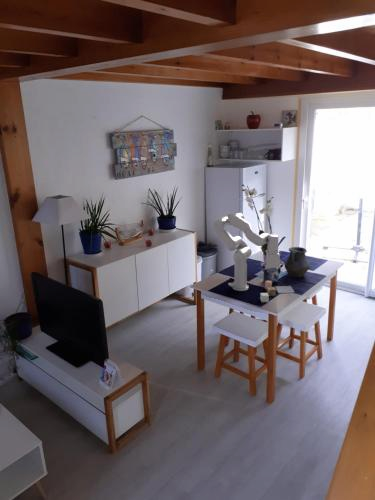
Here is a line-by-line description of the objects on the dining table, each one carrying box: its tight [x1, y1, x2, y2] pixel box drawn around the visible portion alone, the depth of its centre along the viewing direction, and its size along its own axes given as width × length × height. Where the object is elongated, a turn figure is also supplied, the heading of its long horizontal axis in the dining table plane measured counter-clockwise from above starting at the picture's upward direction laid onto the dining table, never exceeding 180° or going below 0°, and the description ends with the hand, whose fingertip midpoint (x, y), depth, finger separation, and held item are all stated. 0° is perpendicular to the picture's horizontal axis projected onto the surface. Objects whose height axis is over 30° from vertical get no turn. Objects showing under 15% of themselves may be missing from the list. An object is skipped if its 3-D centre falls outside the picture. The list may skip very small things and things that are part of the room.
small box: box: [263, 267, 280, 284], centre depth 329 cm, size 11×6×10 cm, turn 105°
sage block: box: [259, 292, 270, 303], centre depth 298 cm, size 5×5×5 cm
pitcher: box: [284, 246, 311, 279], centre depth 336 cm, size 21×22×25 cm
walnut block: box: [266, 286, 276, 297], centre depth 307 cm, size 5×5×5 cm
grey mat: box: [274, 285, 295, 294], centre depth 315 cm, size 12×12×1 cm
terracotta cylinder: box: [264, 281, 273, 291], centre depth 317 cm, size 5×5×6 cm
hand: (272, 273), depth 302 cm, fingers open, 9 cm apart
